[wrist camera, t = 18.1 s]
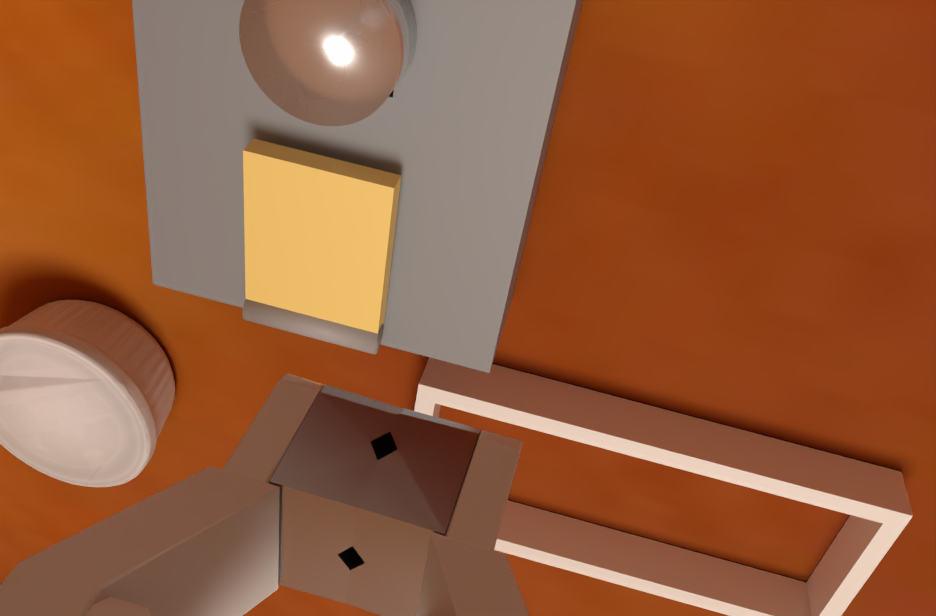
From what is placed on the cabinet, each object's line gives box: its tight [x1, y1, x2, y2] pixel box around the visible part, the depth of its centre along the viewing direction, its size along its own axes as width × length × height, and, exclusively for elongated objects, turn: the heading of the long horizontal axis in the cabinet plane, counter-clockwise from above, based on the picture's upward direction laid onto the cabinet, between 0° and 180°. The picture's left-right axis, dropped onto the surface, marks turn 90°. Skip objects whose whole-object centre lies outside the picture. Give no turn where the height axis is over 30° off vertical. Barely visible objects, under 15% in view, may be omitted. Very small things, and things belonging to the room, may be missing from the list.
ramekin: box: [0, 300, 175, 487], centre depth 51 cm, size 11×11×5 cm
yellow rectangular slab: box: [242, 139, 401, 354], centre depth 36 cm, size 6×9×1 cm
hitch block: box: [132, 0, 583, 373], centre depth 36 cm, size 16×20×6 cm
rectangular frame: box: [414, 357, 913, 616], centre depth 48 cm, size 25×11×3 cm, turn 81°
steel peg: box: [239, 0, 417, 126], centre depth 33 cm, size 6×6×8 cm
